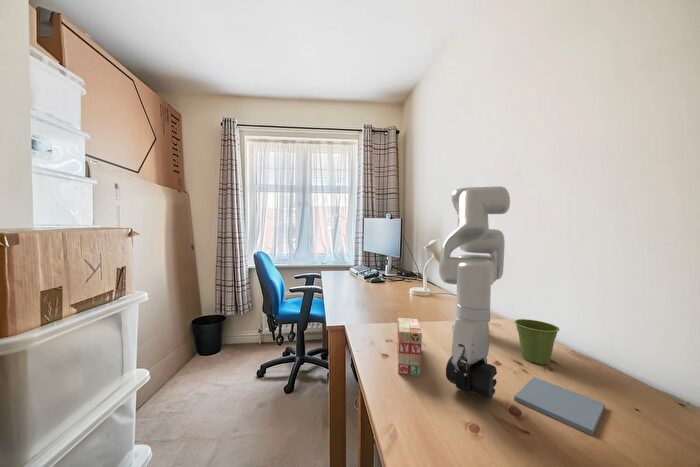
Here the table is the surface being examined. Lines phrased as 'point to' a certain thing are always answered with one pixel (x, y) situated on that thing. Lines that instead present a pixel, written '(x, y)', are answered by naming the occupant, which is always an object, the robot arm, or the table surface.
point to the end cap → (476, 377)
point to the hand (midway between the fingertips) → (471, 383)
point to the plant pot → (536, 340)
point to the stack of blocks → (409, 346)
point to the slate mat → (562, 404)
